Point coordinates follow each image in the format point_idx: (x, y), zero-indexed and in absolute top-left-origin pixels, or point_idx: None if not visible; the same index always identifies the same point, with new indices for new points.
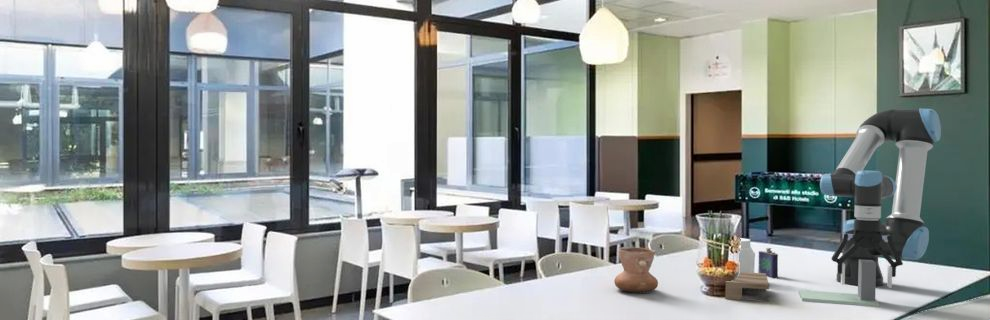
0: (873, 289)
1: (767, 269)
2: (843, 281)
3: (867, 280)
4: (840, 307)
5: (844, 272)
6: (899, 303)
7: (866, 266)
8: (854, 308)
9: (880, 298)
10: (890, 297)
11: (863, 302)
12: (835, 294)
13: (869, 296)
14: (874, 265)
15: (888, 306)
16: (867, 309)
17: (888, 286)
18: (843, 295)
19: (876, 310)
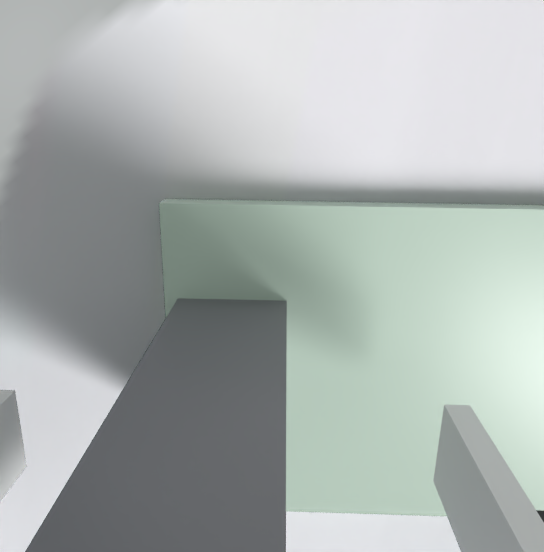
0: (171, 340)
1: None
2: (467, 424)
3: (218, 391)
4: (511, 39)
5: (502, 505)
6: (4, 373)
7: (205, 534)
8: (390, 40)
9: None
10: None
11: (286, 204)
12: None
13: (217, 312)
14: (55, 549)
15: (92, 235)
16: (282, 38)
17: (14, 419)
18: (391, 431)
19: (210, 22)
